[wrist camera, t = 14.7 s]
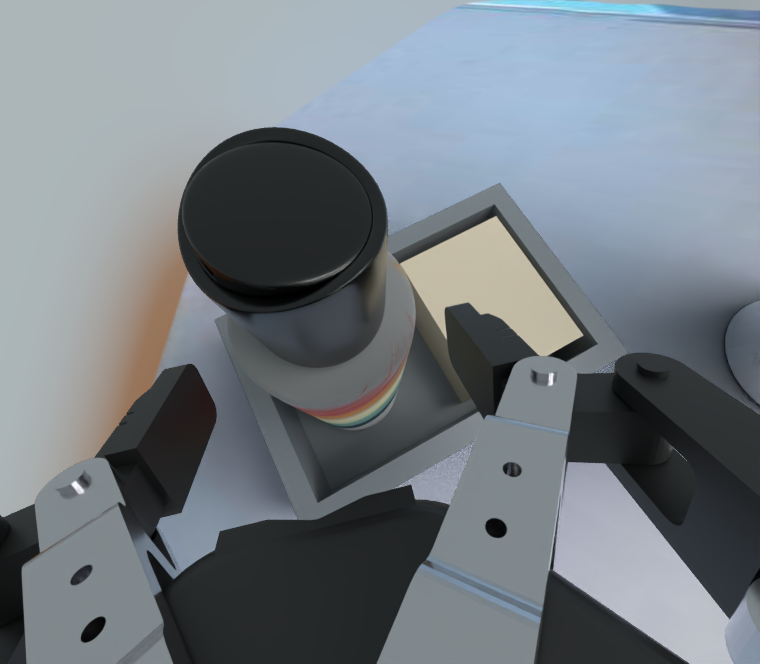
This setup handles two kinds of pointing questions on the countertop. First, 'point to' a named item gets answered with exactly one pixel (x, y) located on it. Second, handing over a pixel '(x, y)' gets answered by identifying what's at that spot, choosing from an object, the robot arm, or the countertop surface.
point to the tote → (413, 382)
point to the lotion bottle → (301, 272)
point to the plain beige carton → (485, 293)
